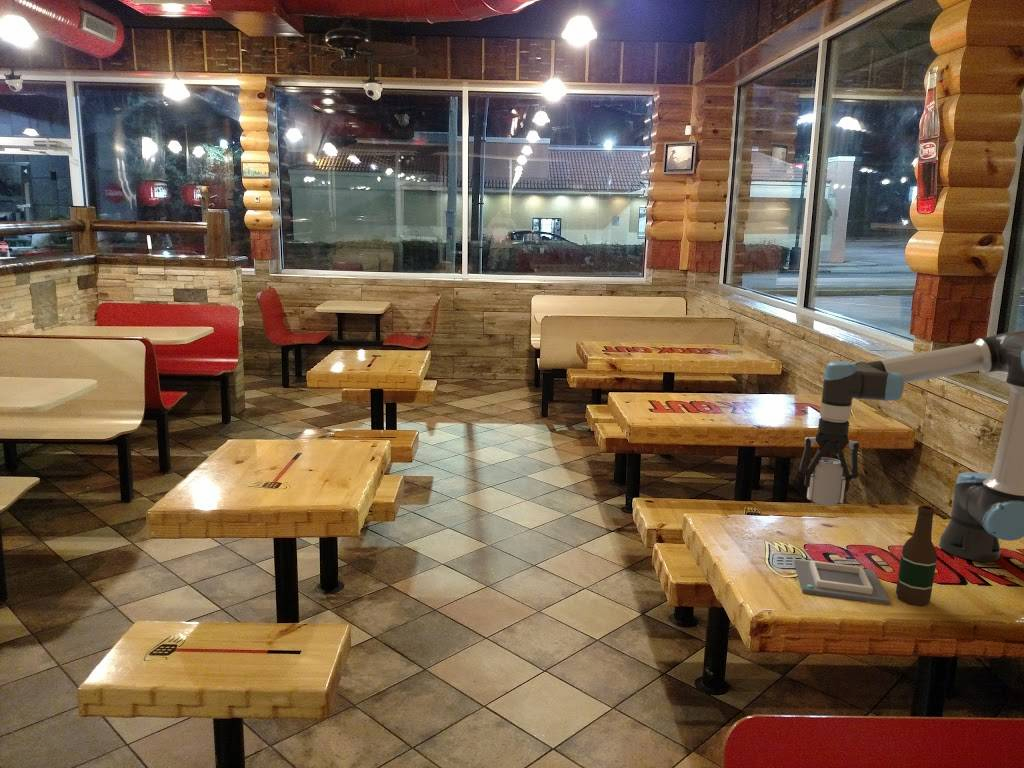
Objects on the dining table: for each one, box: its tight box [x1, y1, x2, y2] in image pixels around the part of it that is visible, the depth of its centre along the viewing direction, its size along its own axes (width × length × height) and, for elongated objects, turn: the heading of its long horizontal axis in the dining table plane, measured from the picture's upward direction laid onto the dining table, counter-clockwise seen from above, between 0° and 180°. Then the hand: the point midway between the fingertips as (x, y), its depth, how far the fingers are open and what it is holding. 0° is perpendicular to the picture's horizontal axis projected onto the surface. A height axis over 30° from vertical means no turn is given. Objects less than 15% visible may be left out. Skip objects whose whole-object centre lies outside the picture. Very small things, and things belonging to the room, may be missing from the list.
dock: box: [793, 559, 891, 605], centre depth 199 cm, size 20×18×2 cm
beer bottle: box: [895, 505, 938, 607], centre depth 189 cm, size 8×8×24 cm
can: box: [811, 457, 844, 507], centre depth 212 cm, size 8×8×12 cm
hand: (824, 499), depth 213 cm, fingers closed on can, 7 cm apart
